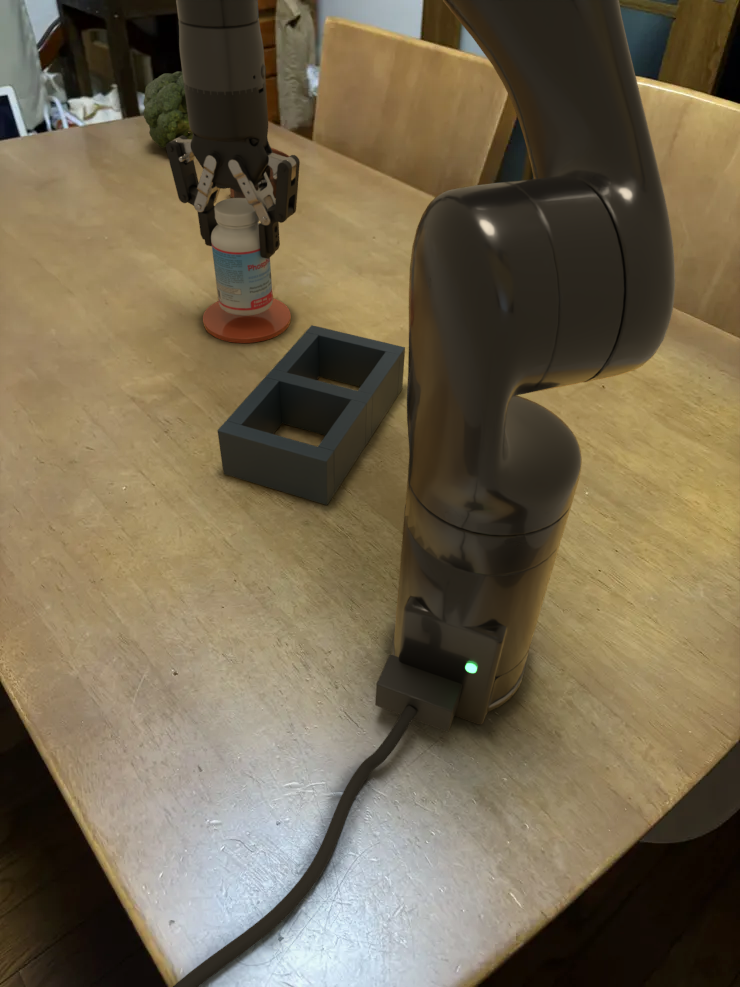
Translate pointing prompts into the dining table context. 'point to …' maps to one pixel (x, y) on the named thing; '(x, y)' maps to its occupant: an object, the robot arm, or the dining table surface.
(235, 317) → the coaster
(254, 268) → the pill bottle
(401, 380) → the bottle holder
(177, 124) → the vegetable
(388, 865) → the dining table surface
